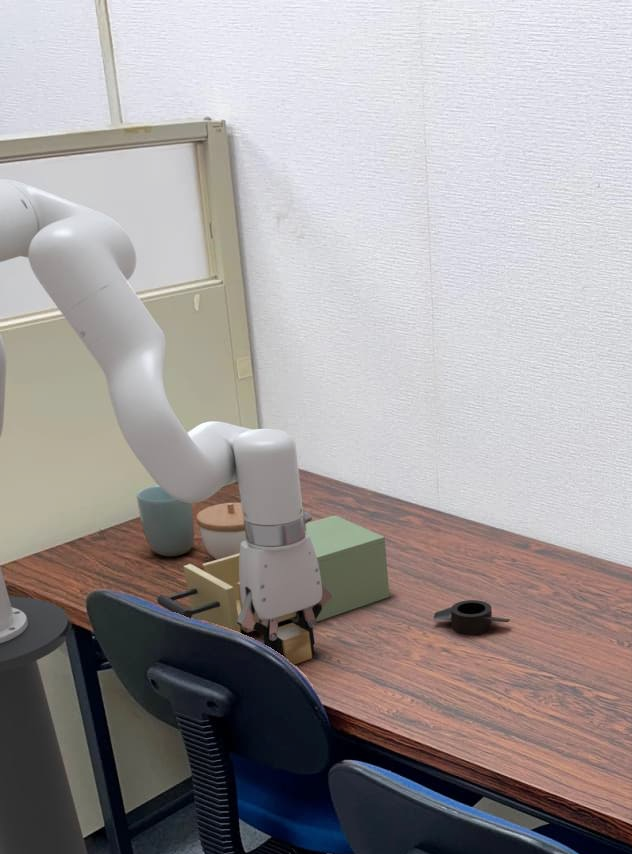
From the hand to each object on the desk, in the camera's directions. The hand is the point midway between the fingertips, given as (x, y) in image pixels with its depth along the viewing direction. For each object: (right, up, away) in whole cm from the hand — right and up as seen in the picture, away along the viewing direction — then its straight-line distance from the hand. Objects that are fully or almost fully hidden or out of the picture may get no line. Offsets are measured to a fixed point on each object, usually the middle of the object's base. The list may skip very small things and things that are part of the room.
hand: (291, 655), depth 163 cm
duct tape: (+24, +5, +10) cm, 26 cm away
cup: (-28, +20, +32) cm, 47 cm away
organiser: (0, +10, +17) cm, 20 cm away
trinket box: (-16, +19, +29) cm, 38 cm away
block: (0, 0, 0) cm, 0 cm away
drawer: (-9, +6, +8) cm, 14 cm away
